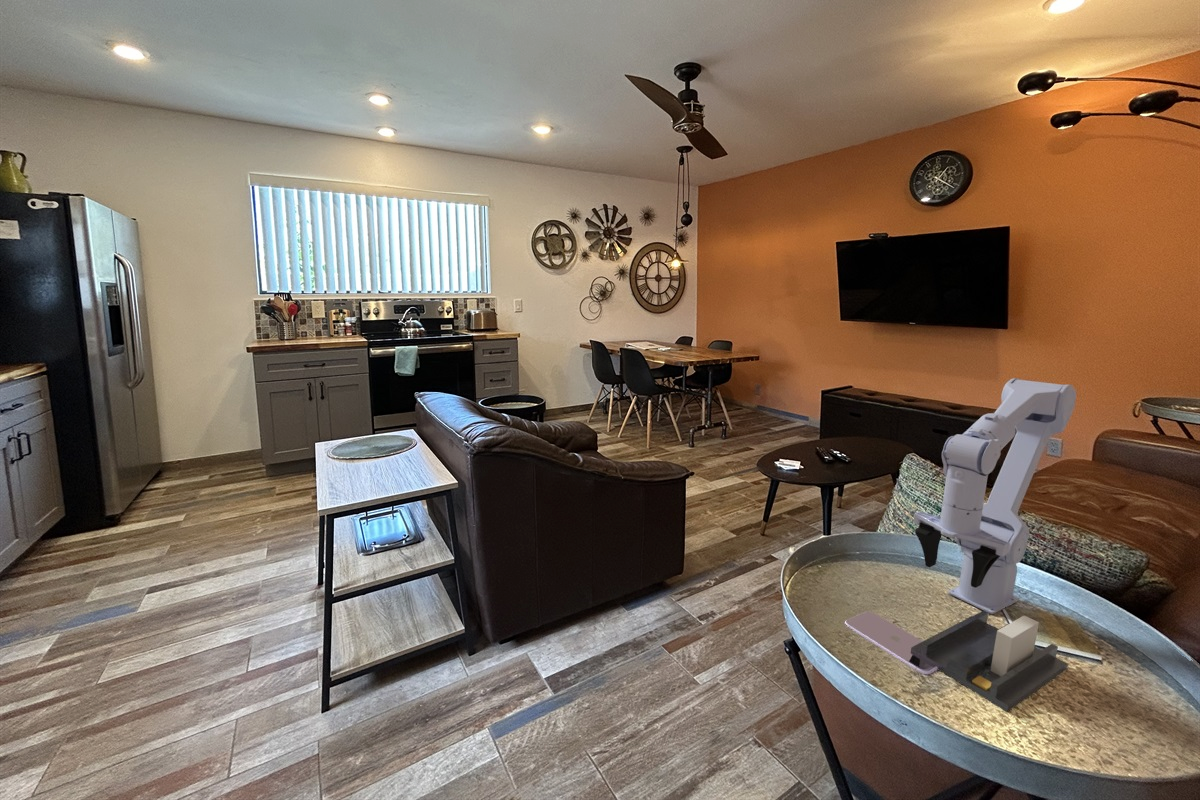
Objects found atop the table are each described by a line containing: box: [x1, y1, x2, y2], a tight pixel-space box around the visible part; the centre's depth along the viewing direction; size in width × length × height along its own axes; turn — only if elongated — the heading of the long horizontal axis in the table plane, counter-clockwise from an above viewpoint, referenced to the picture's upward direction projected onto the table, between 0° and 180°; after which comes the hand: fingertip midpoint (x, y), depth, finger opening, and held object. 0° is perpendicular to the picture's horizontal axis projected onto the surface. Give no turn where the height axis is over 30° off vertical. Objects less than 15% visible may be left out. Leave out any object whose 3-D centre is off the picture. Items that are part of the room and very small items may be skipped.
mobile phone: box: [844, 610, 938, 675], centre depth 89 cm, size 8×1×15 cm
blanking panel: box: [990, 615, 1040, 676], centre depth 81 cm, size 8×2×7 cm, turn 117°
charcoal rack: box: [911, 610, 1069, 713], centre depth 84 cm, size 18×14×3 cm
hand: (952, 575), depth 92 cm, fingers open, 7 cm apart
